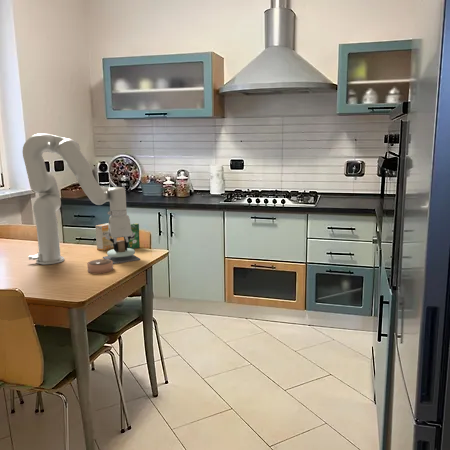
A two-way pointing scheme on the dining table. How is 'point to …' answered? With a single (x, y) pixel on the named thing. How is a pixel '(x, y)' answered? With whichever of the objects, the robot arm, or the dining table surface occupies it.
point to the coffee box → (134, 237)
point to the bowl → (100, 266)
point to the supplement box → (103, 237)
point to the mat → (122, 259)
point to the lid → (121, 250)
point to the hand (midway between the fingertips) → (120, 250)
